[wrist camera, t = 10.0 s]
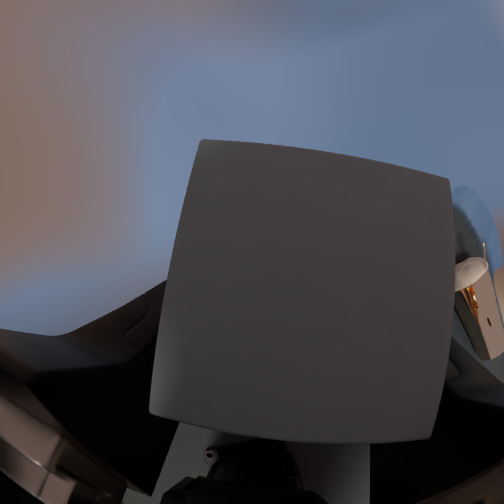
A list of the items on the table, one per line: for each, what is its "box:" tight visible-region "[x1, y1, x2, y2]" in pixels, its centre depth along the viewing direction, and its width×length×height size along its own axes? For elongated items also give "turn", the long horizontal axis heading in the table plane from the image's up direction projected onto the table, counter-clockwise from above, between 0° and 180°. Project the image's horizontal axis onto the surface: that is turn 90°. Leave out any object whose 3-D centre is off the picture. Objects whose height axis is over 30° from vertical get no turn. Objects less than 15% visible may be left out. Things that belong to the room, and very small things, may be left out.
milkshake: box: [454, 242, 504, 361], centre depth 18 cm, size 4×5×10 cm
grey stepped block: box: [149, 139, 455, 444], centre depth 10 cm, size 8×4×12 cm, turn 171°
